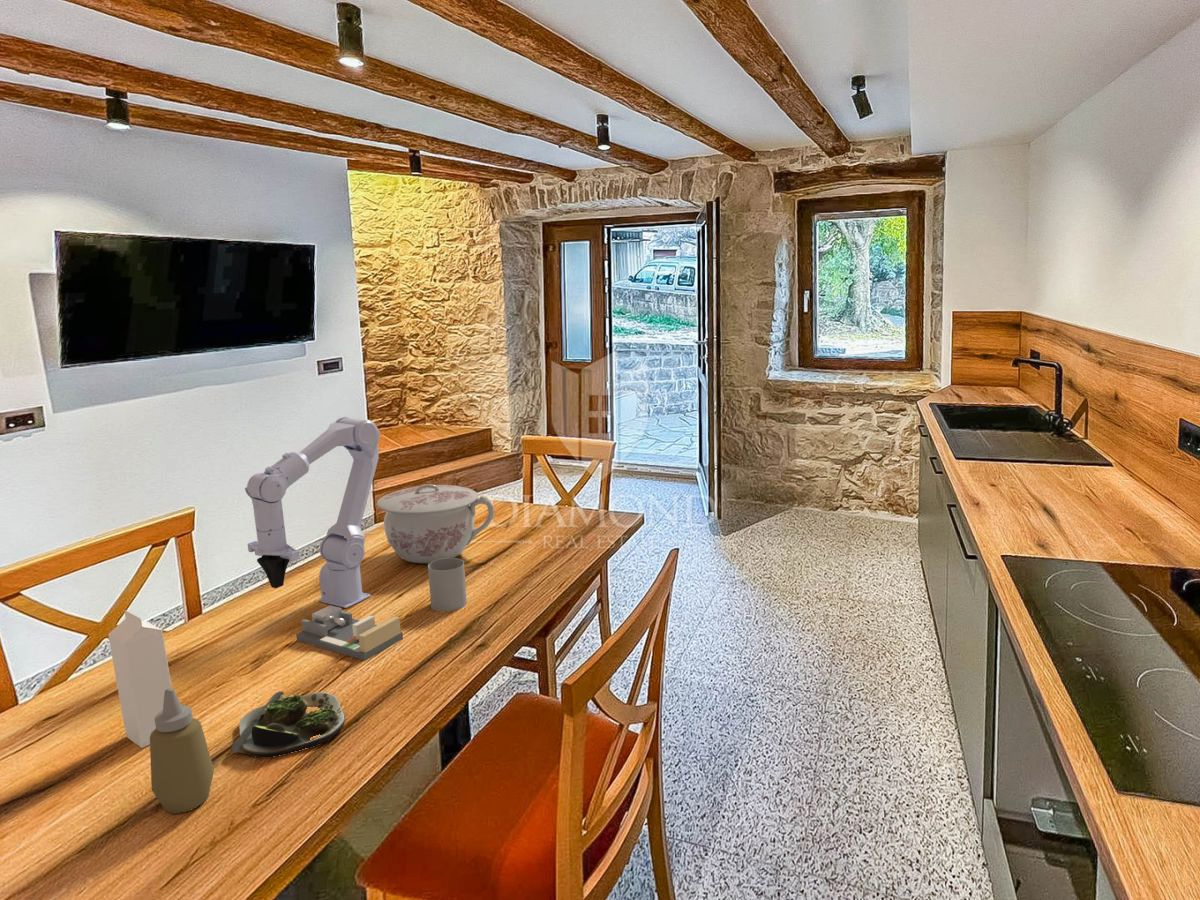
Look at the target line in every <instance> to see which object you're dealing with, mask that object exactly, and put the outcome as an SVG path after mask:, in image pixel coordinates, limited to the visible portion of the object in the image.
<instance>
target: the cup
mask: <svg viewBox="0 0 1200 900" xmlns="http://www.w3.org/2000/svg"><path fill="white" fill-rule="evenodd" d="M427 569H428V582H429V596H430V608H431V609H432V610H434V611H436V610H437V612H441V611H446V612H453V611H458V610H460V609H462V607H463V608H464V607H465V606H466V605H467V604H468V601H467V588H466V572H465V569H466V568H465V561H464V560H463V559H461V558H456V557H454V558H443V559H438V560H435V561H432V562H431V563H429V564H427Z"/></svg>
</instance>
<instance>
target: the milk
mask: <svg viewBox="0 0 1200 900" xmlns="http://www.w3.org/2000/svg"><path fill="white" fill-rule="evenodd" d="M124 616H125V618H124V619H123V620H122V621H121V622H119V623H118V625H117V626H115V627H114V628H113V629H112V630H111V631H110V632H109V633H108V641H109V646H110V653H111V657H112V663H113V669H114V675H115V681H116V685H117V686H116V687H117V692H118V697H119V704H120V709H121V715H122V721H123V725H124V727H123V728H124V732H125V737H126V738H128V739H129V740H130V741H131V742H133V743H134V744H135V745H137V746H138V747H139V748H141V749H144V748H146V747H147V746H150V735H151V733H152V732H153V731H154V730H155V729H156V726H155V716H156V715H157V714H158V713H159V712H161V711H162V710H163V703H164V693H165V690H167V689H170V688H172V681H171V676H170V669H169V663H168V662H169V661H168V656H167V650H166V643H165V638H164V632H163V629H161V628H160V627H158V626H155V625H154V624H152V623H150V622H148V621H146V620H142V618H141V617H139V616H138V615H136V614H134V613H132V612H130V611H129V610H124Z"/></svg>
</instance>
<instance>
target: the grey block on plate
mask: <svg viewBox="0 0 1200 900" xmlns="http://www.w3.org/2000/svg"><path fill="white" fill-rule="evenodd" d="M342 611H343V610H342V607H340V606H336V605H332V604H329V605H327V606H326V607H323V608H322V609H319V610H316V611H315V612H312V613H311V618H312V620H311V621H313V622H317V623H320V624H324V625H327V629H328V630H330V629H332V628H334V627H336V626H338V625H341V626H344V625H345V623H346V621H345V620H344V619H342Z"/></svg>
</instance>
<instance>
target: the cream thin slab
mask: <svg viewBox="0 0 1200 900" xmlns="http://www.w3.org/2000/svg"><path fill="white" fill-rule="evenodd" d="M375 620H376V619H375V616H373V615H368V616H367V617H365V618H362V619H361V620H359V621H358V622H357V623H355V624H353V625H352V628H353V638H351V639H349V640H347V643H350V642H352V641H354V640H356V639H359V635H360V634H362V633H364V632H366V631H367V630H369V629H371V628H373V627H375V625H376V621H375Z"/></svg>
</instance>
